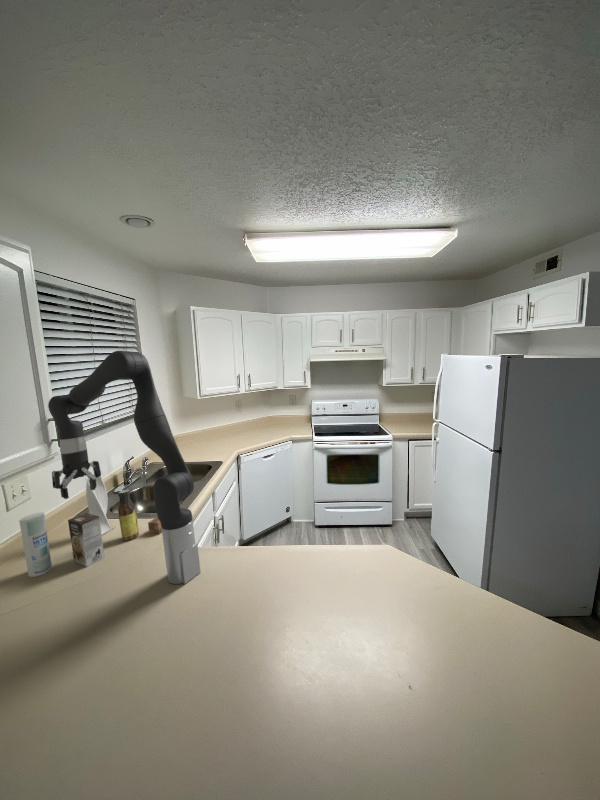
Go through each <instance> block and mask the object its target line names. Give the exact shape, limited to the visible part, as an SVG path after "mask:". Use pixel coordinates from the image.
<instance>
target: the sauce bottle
mask: <svg viewBox="0 0 600 800" xmlns="http://www.w3.org/2000/svg"><path fill="white" fill-rule="evenodd" d="M130 494H131V492H130V489H123V490H120V491H119V492H118V494H117V496H118V497H119V506H118V508H117V512H118V521H119V526H120V531H121V532H120V533H121V537H122V540H123V541H127V542H128V541H132V540H134V539H135V538H137V537H139V535H140V534H139V531H140V528H139V525H138V517H137V511H136V509H137V508H136V506H135V505H134V503H133V501H132V499H131V495H130Z"/></svg>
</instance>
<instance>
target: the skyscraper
mask: <svg viewBox="0 0 600 800" xmlns="http://www.w3.org/2000/svg"><path fill="white" fill-rule="evenodd" d="M100 471H101V476H99V477H97V478H96V488H95V490H91V489H90V483H89V480H90V479H89V478H88V477H87V476H85V482H86V484H85V491H86V493H85V497H86V505H87V507H88V511H89V514H92V515H96V516H99V519H100V526H101V534H102V536H104V535H106V534H107V532H108V531H109V532H111V531H112V530H111V529H113V528H111V527H112V526H111V525H110V522H109V519H108V518H107V512H108V503H109V502H108V491H107V488H106V484H105V481H104V480H103V471H102V470H101V469H100ZM92 474H93V475H94V473H92ZM110 530H111V531H110ZM113 530H114V529H113ZM109 532H108V533H109ZM105 533H106V534H105Z"/></svg>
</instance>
